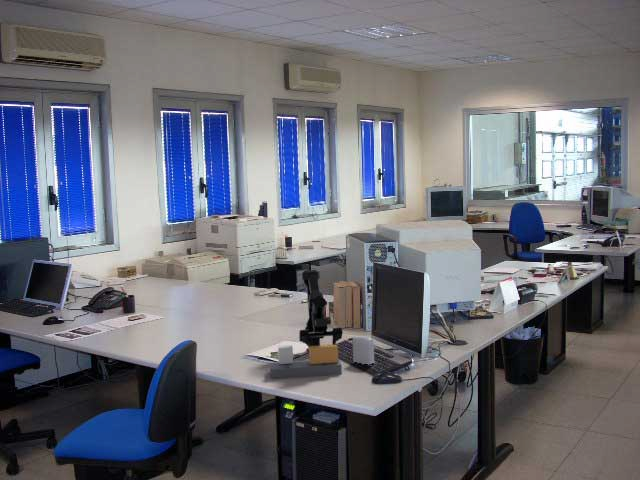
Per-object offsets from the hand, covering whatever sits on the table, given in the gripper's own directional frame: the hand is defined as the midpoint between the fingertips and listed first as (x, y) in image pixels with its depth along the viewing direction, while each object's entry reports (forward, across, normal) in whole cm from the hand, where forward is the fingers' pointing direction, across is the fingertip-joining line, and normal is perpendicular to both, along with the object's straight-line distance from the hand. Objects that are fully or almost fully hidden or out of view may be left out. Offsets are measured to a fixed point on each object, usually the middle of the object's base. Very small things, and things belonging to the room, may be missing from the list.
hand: (322, 351), depth 295 cm
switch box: (+7, -8, +6) cm, 12 cm away
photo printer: (+1, +19, +12) cm, 22 cm away
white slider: (+2, -16, +4) cm, 17 cm away
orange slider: (+5, 0, +2) cm, 5 cm away
